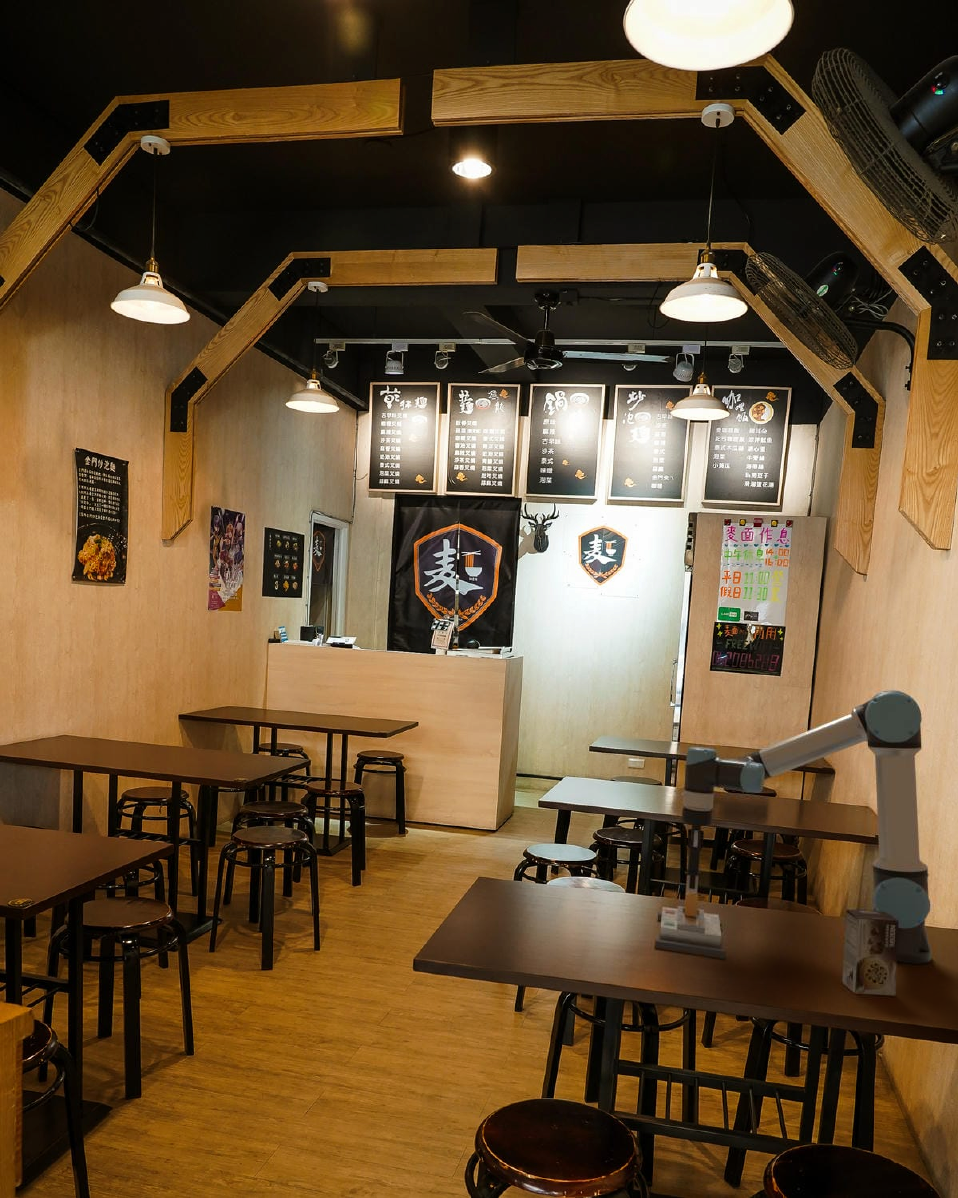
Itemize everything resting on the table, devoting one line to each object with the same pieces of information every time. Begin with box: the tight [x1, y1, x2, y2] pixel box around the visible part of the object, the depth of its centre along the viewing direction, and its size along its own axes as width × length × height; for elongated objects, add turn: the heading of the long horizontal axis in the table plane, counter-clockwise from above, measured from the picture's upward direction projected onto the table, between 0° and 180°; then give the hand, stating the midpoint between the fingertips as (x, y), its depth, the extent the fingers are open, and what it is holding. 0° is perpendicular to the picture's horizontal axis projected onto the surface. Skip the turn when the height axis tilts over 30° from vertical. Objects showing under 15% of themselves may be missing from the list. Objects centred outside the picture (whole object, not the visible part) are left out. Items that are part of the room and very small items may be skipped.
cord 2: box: [654, 938, 727, 960], centre depth 208 cm, size 16×2×2 cm, turn 77°
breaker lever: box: [684, 892, 699, 917], centre depth 224 cm, size 3×2×5 cm, turn 77°
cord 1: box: [657, 912, 723, 930], centre depth 230 cm, size 16×2×2 cm, turn 77°
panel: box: [659, 905, 722, 949], centre depth 219 cm, size 14×18×5 cm
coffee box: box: [841, 908, 899, 996], centre depth 194 cm, size 9×6×16 cm
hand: (690, 900), depth 229 cm, fingers closed
